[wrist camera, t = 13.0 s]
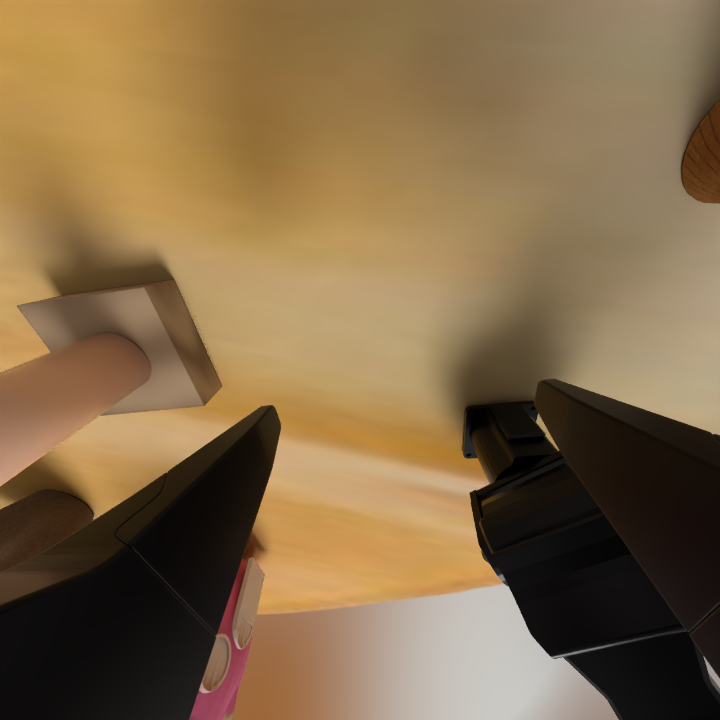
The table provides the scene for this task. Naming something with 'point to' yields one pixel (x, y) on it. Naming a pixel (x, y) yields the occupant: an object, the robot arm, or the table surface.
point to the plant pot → (38, 525)
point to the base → (136, 339)
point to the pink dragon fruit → (230, 647)
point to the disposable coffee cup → (704, 160)
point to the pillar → (63, 395)
